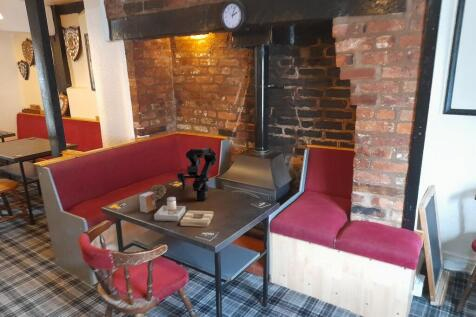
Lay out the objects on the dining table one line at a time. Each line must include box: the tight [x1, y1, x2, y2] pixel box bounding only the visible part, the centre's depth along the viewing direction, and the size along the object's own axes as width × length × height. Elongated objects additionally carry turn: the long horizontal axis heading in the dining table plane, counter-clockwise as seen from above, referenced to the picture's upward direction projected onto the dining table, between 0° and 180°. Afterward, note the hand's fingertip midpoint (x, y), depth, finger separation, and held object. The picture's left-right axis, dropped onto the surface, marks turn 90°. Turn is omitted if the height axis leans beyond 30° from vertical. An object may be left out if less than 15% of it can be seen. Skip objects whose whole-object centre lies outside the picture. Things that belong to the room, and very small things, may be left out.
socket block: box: [179, 210, 214, 228], centre depth 192 cm, size 15×15×2 cm
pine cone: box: [138, 184, 167, 202], centre depth 221 cm, size 22×10×10 cm, turn 151°
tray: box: [153, 204, 187, 222], centre depth 198 cm, size 14×14×4 cm
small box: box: [138, 190, 157, 214], centre depth 207 cm, size 8×6×10 cm
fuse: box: [166, 196, 177, 215], centre depth 196 cm, size 5×5×10 cm
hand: (191, 189), depth 202 cm, fingers open, 9 cm apart
